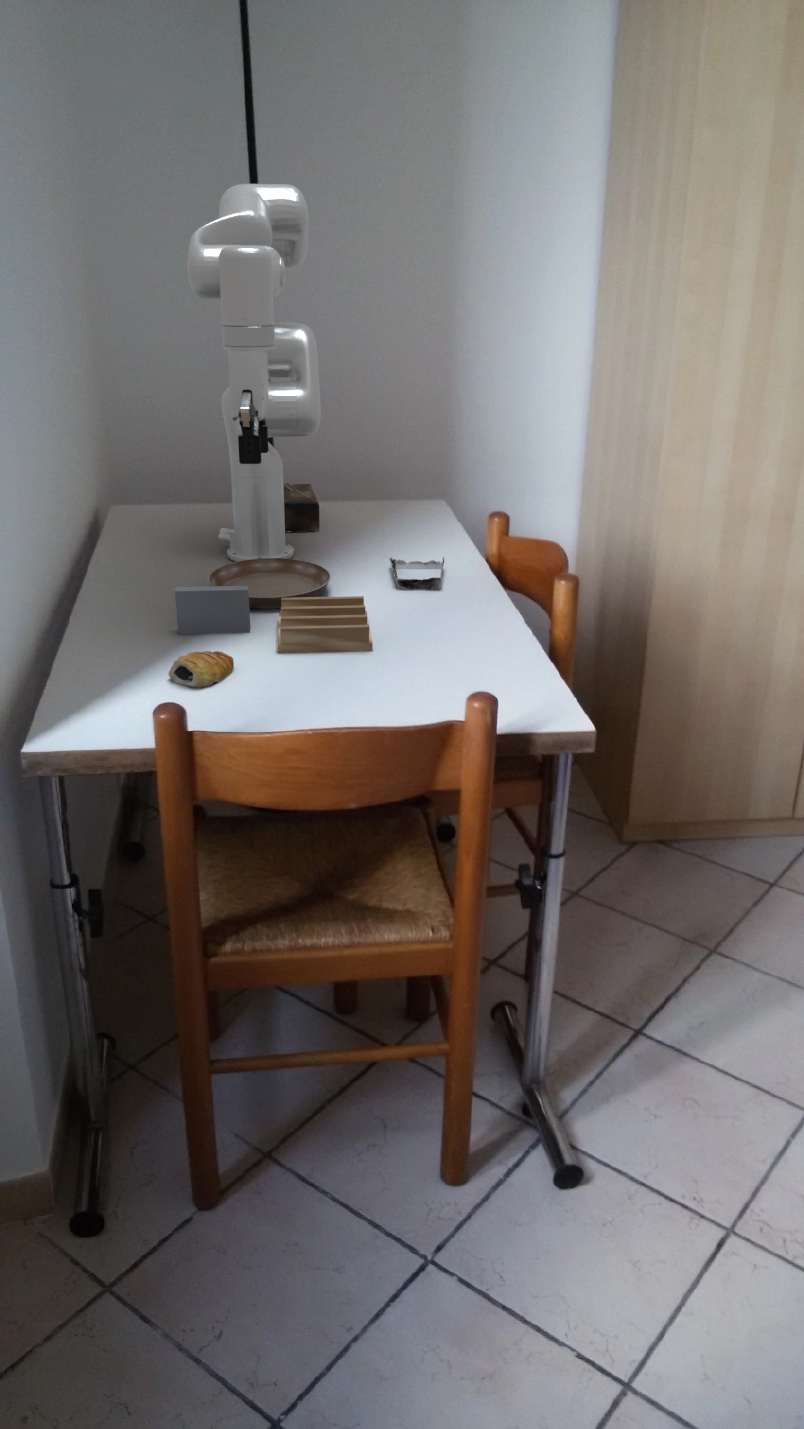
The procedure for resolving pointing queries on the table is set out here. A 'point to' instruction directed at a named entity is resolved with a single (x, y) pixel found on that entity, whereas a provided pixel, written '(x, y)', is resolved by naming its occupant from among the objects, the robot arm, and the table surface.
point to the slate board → (213, 609)
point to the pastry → (201, 668)
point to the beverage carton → (300, 508)
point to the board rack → (323, 625)
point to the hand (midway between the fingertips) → (254, 458)
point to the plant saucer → (273, 579)
